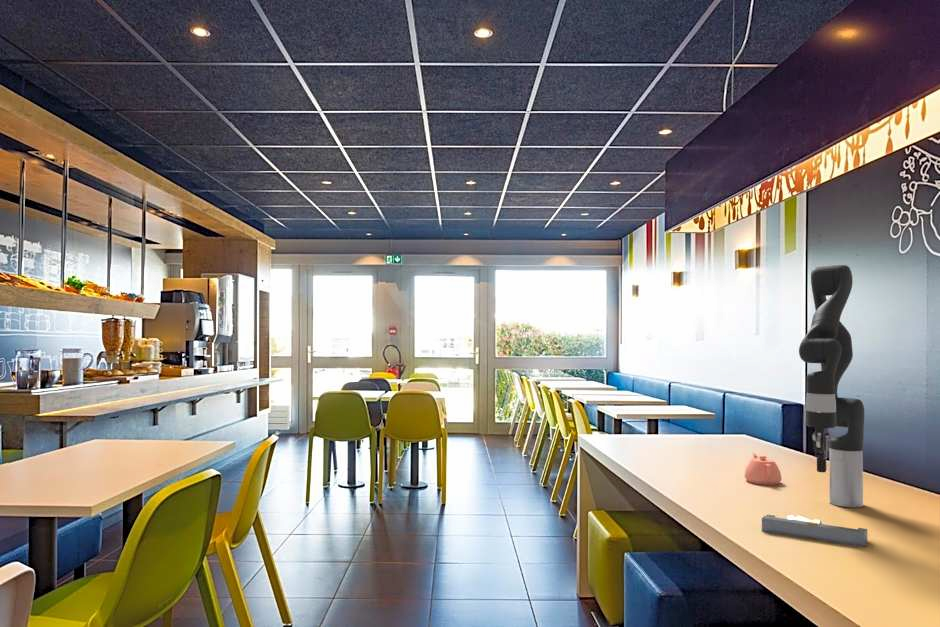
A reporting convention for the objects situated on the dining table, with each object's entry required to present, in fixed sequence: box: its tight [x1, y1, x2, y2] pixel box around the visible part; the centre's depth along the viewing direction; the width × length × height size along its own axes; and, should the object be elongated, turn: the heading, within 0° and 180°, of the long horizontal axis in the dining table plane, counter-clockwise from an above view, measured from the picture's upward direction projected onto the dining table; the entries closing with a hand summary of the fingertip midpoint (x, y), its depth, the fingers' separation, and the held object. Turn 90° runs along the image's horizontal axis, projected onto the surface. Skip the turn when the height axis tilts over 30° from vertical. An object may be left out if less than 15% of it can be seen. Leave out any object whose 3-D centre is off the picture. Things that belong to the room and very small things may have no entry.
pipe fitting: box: [786, 514, 823, 524], centre depth 185 cm, size 8×4×7 cm
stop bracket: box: [761, 514, 868, 548], centre depth 180 cm, size 7×24×4 cm, turn 56°
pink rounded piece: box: [744, 452, 782, 486], centre depth 249 cm, size 12×18×10 cm
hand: (821, 471), depth 192 cm, fingers closed
